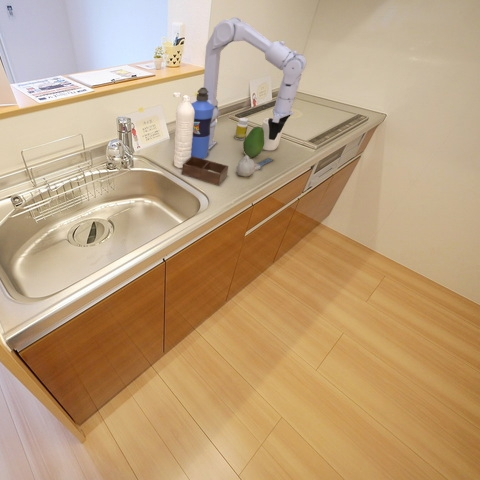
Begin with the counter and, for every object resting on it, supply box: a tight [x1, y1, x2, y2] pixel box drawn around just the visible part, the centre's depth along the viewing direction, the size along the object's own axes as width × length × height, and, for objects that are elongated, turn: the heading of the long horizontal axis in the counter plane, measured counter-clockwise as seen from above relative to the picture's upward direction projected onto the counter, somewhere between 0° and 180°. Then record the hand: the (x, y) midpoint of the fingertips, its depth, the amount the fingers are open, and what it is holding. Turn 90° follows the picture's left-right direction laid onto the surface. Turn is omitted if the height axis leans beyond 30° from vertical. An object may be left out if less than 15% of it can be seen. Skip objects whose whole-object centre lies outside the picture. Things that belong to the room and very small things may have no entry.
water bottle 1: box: [172, 91, 195, 169], centre depth 100 cm, size 9×6×25 cm
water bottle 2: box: [190, 87, 214, 159], centre depth 106 cm, size 9×9×25 cm
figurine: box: [236, 154, 256, 177], centre depth 100 cm, size 7×7×8 cm
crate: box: [181, 156, 229, 186], centre depth 101 cm, size 15×8×4 cm, turn 58°
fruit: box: [242, 126, 264, 159], centre depth 109 cm, size 8×8×12 cm
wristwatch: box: [236, 158, 273, 177], centre depth 107 cm, size 4×20×1 cm, turn 128°
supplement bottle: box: [234, 117, 249, 141], centre depth 124 cm, size 5×5×8 cm
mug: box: [261, 117, 286, 152], centre depth 117 cm, size 9×12×11 cm
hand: (274, 135), depth 104 cm, fingers open, 7 cm apart
